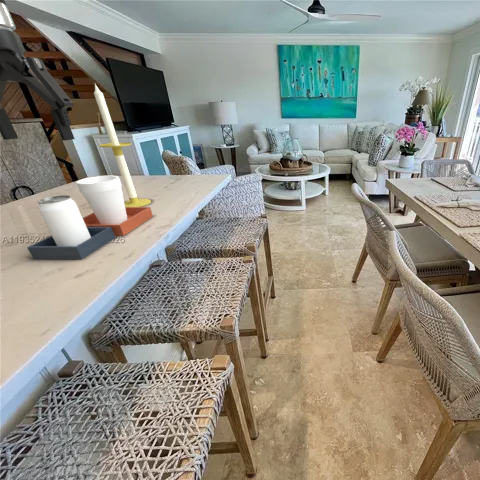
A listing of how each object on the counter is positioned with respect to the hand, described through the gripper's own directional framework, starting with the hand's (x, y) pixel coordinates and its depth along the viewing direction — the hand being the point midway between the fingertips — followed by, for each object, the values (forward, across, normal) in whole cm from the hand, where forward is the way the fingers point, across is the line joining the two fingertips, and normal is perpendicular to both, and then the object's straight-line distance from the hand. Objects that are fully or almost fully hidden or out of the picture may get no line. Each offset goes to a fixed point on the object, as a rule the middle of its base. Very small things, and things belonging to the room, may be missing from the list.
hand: (40, 139), depth 63 cm
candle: (+24, +1, +23) cm, 34 cm away
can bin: (+24, +7, -10) cm, 27 cm away
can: (+24, +7, -10) cm, 27 cm away
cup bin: (+24, +7, +4) cm, 26 cm away
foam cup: (+24, +7, +4) cm, 25 cm away
